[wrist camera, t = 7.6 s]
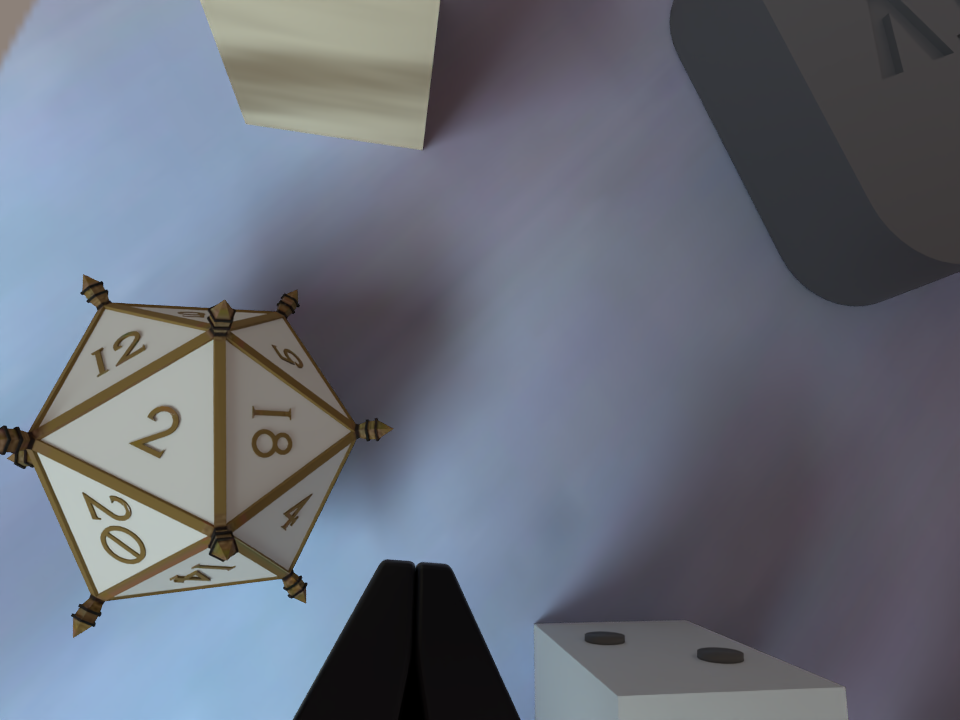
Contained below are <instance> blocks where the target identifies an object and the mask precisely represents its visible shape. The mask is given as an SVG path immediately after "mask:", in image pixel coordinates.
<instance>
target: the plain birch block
mask: <svg viewBox="0 0 960 720" xmlns="http://www.w3.org/2000/svg"><path fill="white" fill-rule="evenodd" d="M200 1H201V4H202V7H203V9H204V12H205V15H206V17H207V20H208V23H209V26H210V28H211V31H212V34H213V36H214V39H215V42H216V44H217V47H218V50H219V53H220V55H221V58H222V61H223V63H224V66H225V69H226V71H227V74H228V77H229V80H230V82H231V85H232V88H233V90H234V93H235V96H236V98H237V101H238V104H239V107H240V109H241V112H242V115H243V117H244V120H245V123H246V124H249V125H256V126H263V127H269V128H276V129H283V130H290V131H296V132H303V133H310V134H317V135H323V136H330V137H337V138H344V139H350V140H357V141H364V142H370V143H377V144H384V145H391V146H397V147H404V148H411V149H418V150H423V142H424V134H425V125H426V117H427V108H428V100H429V91H430V83H431V74H432V66H433V57H434V49H435V40H436V32H437V23H438V15H439V6H440V0H200Z"/></svg>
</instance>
